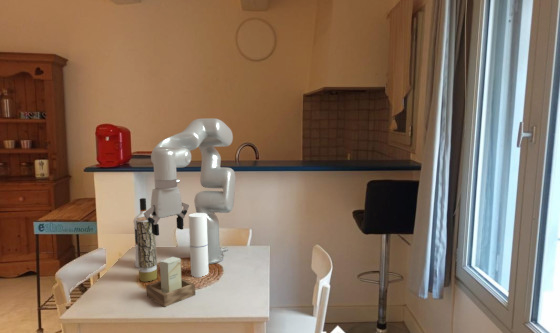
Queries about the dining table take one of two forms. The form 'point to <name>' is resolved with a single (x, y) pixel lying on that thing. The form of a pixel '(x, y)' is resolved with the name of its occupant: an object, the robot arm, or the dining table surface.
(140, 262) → the paper tube
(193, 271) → the cylindrical container
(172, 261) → the skincare box
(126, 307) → the dining table surface
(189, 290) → the brown wooden square tray
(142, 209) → the vodka
